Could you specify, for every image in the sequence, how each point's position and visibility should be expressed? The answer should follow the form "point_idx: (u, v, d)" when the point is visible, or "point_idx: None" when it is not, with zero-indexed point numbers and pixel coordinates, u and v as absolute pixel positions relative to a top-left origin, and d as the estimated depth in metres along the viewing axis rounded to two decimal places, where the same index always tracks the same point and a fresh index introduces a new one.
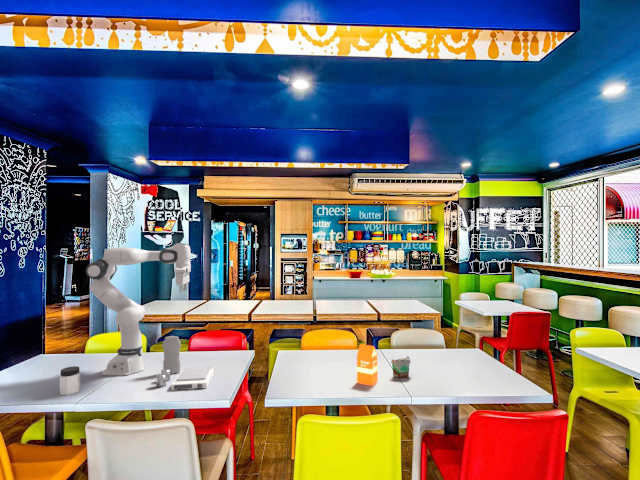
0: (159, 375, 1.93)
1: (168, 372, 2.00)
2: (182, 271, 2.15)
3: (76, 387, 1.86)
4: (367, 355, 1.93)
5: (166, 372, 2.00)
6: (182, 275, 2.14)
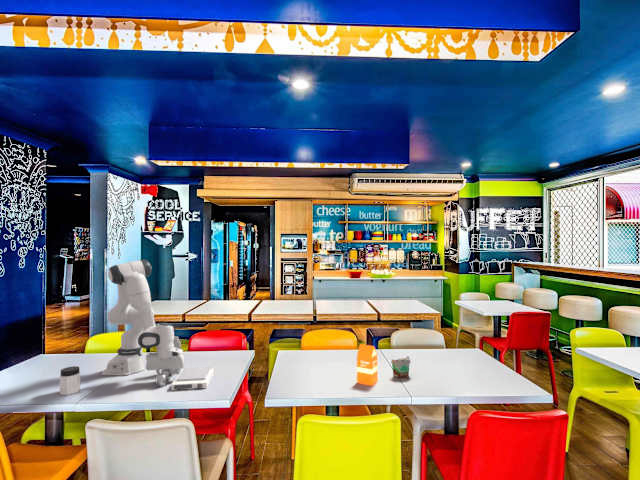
0: (159, 375, 1.93)
1: (168, 372, 2.00)
2: None
3: (76, 387, 1.86)
4: (367, 355, 1.93)
5: (166, 372, 2.00)
6: (183, 356, 2.04)
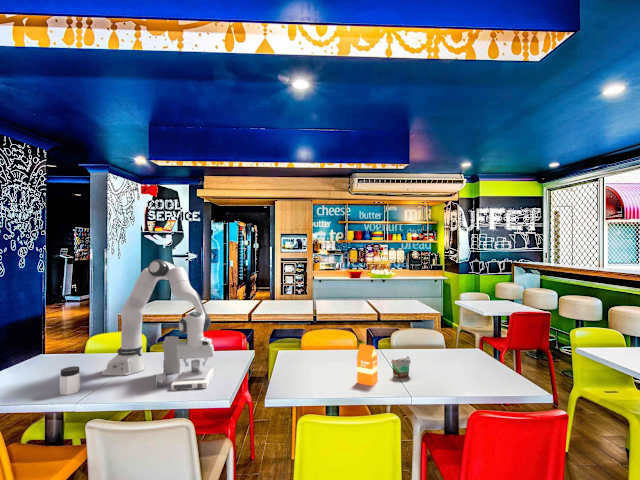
0: (159, 375, 1.93)
1: (198, 363, 2.04)
2: (211, 341, 2.07)
3: (76, 387, 1.86)
4: (367, 355, 1.93)
5: (196, 363, 2.03)
6: (212, 345, 2.08)
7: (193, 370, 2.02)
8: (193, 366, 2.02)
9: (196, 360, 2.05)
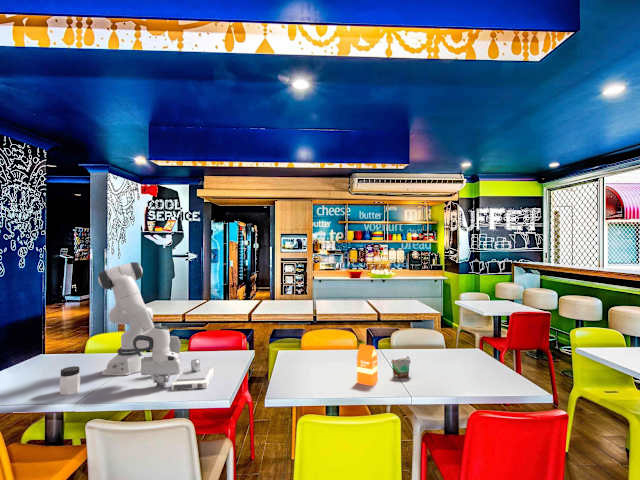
0: (159, 375, 1.93)
1: (198, 363, 2.03)
2: (178, 356, 1.96)
3: (76, 387, 1.86)
4: (367, 355, 1.93)
5: (196, 363, 2.03)
6: None
7: (193, 370, 2.02)
8: (193, 366, 2.02)
9: (196, 360, 2.05)
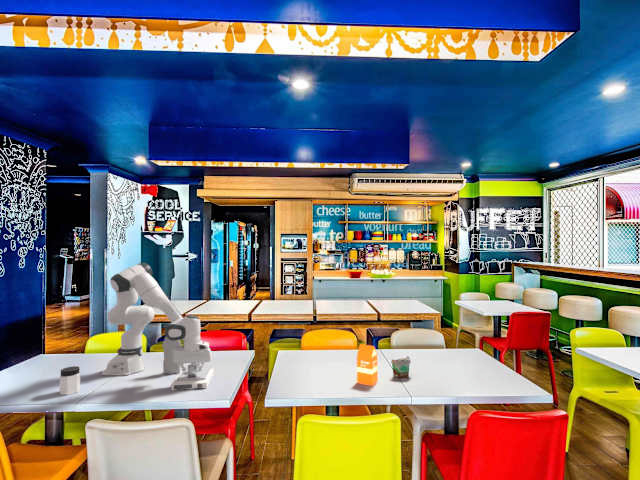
0: (190, 365, 1.96)
1: (197, 363, 2.03)
2: None
3: (76, 387, 1.86)
4: (367, 355, 1.93)
5: (195, 363, 2.02)
6: (210, 349, 2.00)
7: None
8: None
9: None
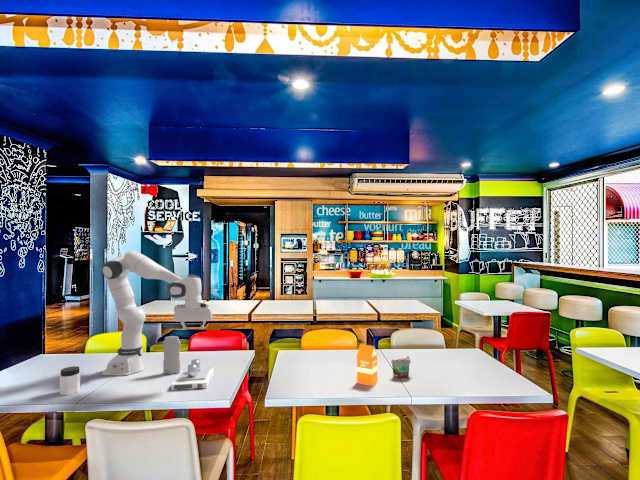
0: (190, 365, 1.96)
1: (197, 363, 2.03)
2: (209, 304, 2.03)
3: (76, 387, 1.86)
4: (367, 355, 1.93)
5: (195, 363, 2.02)
6: (211, 309, 2.03)
7: None
8: None
9: (196, 360, 2.05)
